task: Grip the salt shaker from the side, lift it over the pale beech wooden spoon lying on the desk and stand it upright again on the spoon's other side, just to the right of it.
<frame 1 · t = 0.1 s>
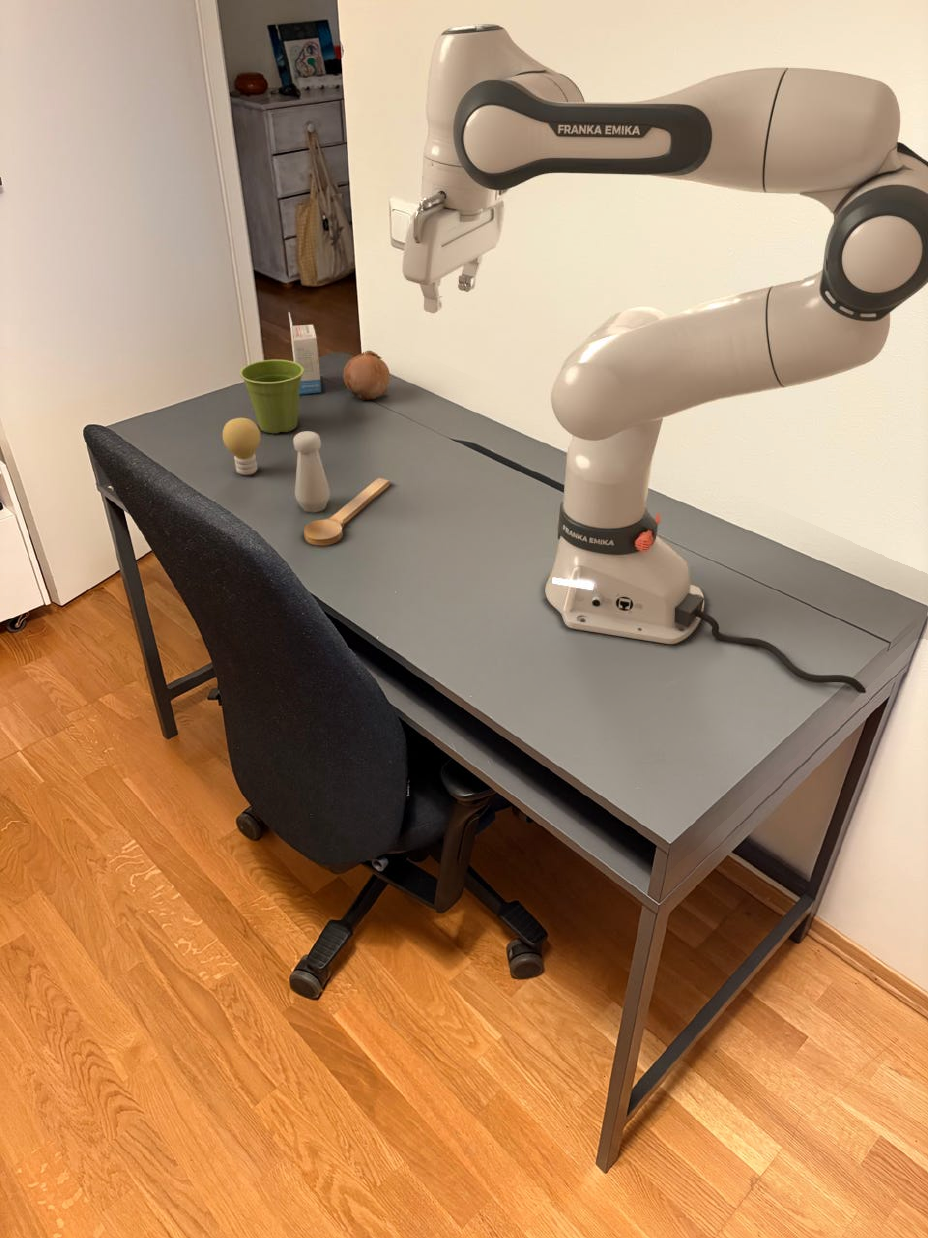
hand: (449, 299, 117), 39 cm above the table, tool pointing down, fingers open, 8 cm apart
light bulb: (247, 472, 162), on the table
salt shaker: (314, 507, 152), on the table
ink box: (308, 387, 193), on the table
plant pot: (279, 427, 177), on the table
wooden spoon: (350, 512, 150), on the table
onion: (368, 397, 189), on the table
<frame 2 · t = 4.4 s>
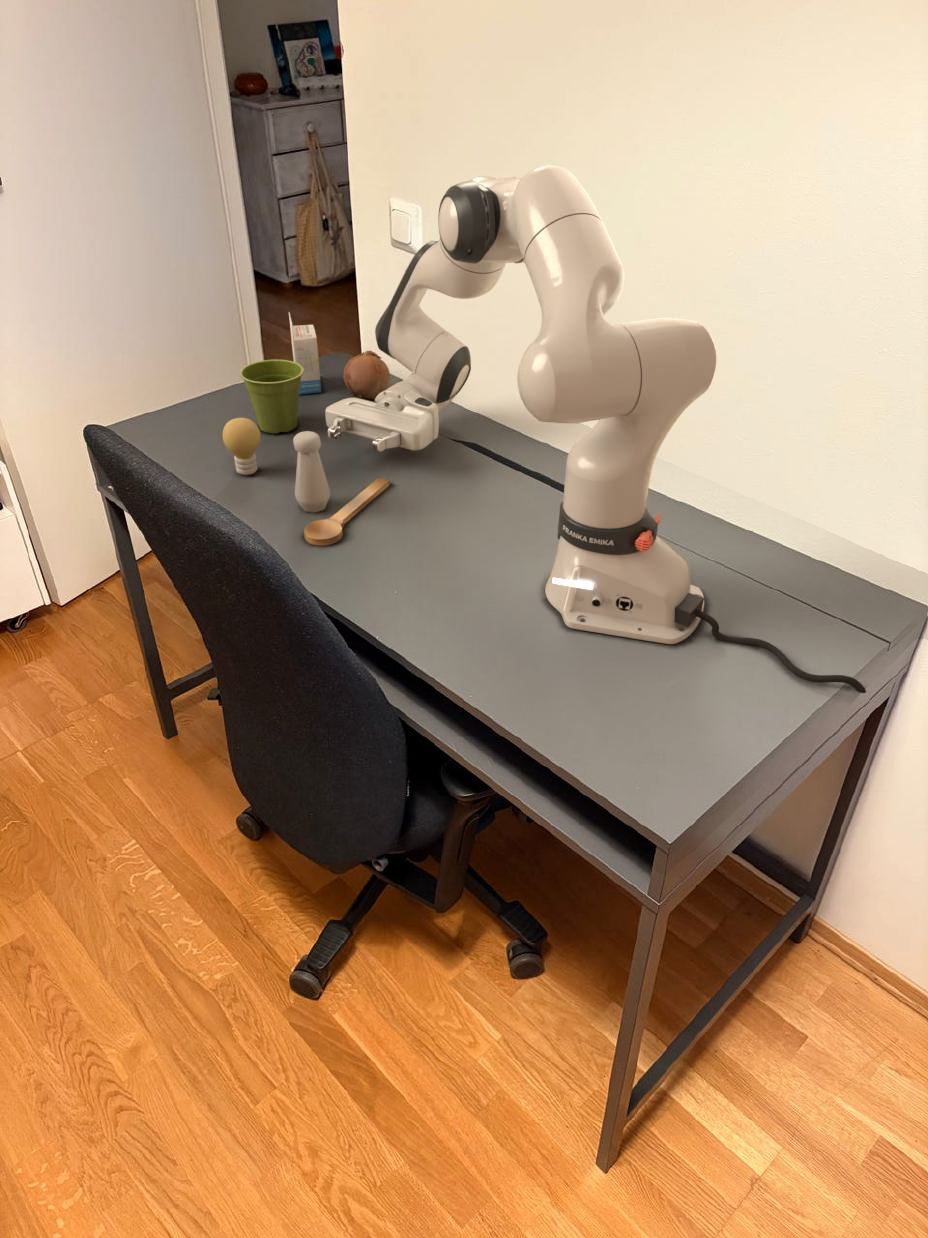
hand: (353, 440, 156), 7 cm above the table, tool horizontal, fingers open, 8 cm apart
nothing on the table moved.
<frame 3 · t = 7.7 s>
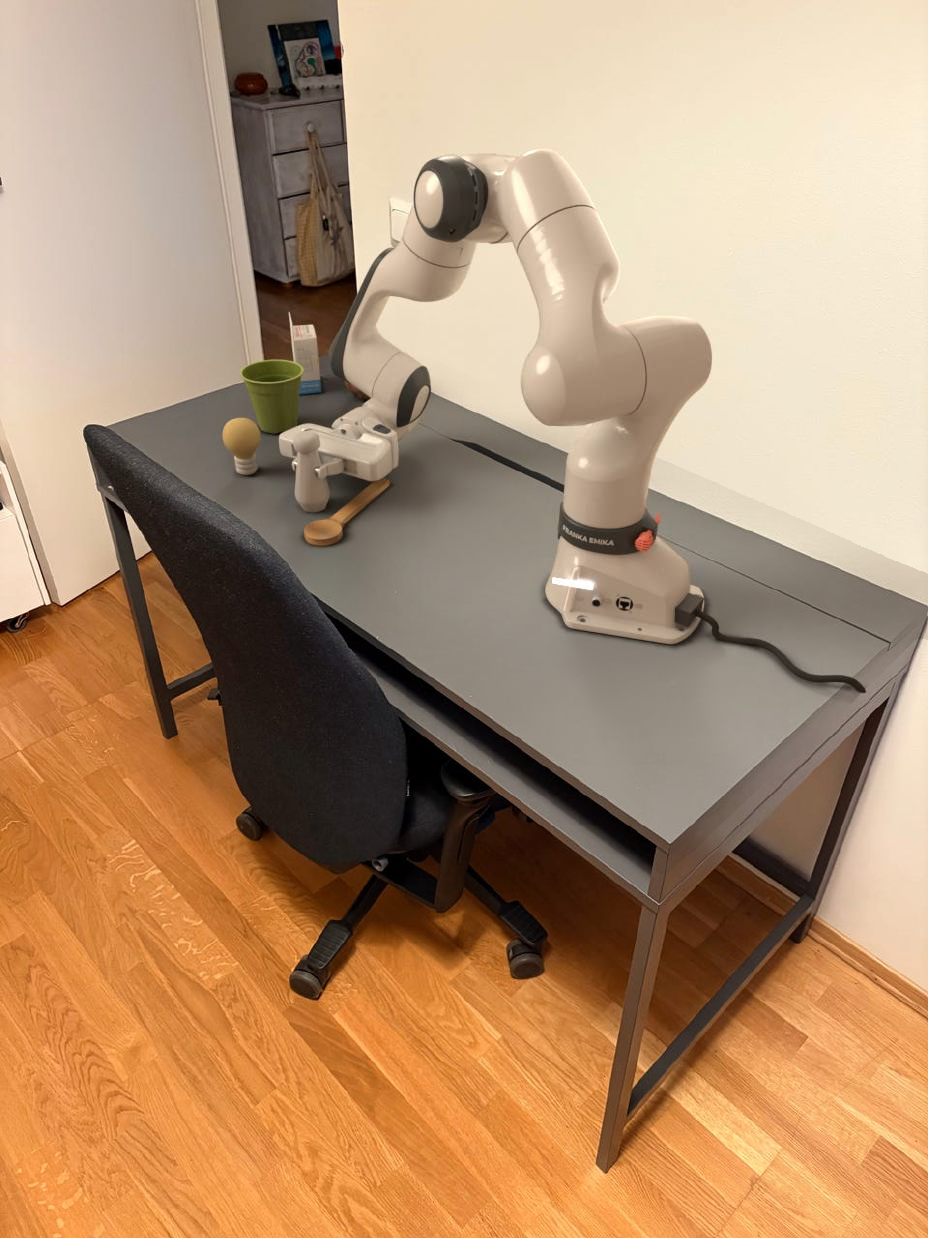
hand: (306, 470, 147), 7 cm above the table, tool horizontal, fingers closed on salt shaker, 3 cm apart
salt shaker: (314, 507, 152), on the table, touching gripper
everything else where it was.
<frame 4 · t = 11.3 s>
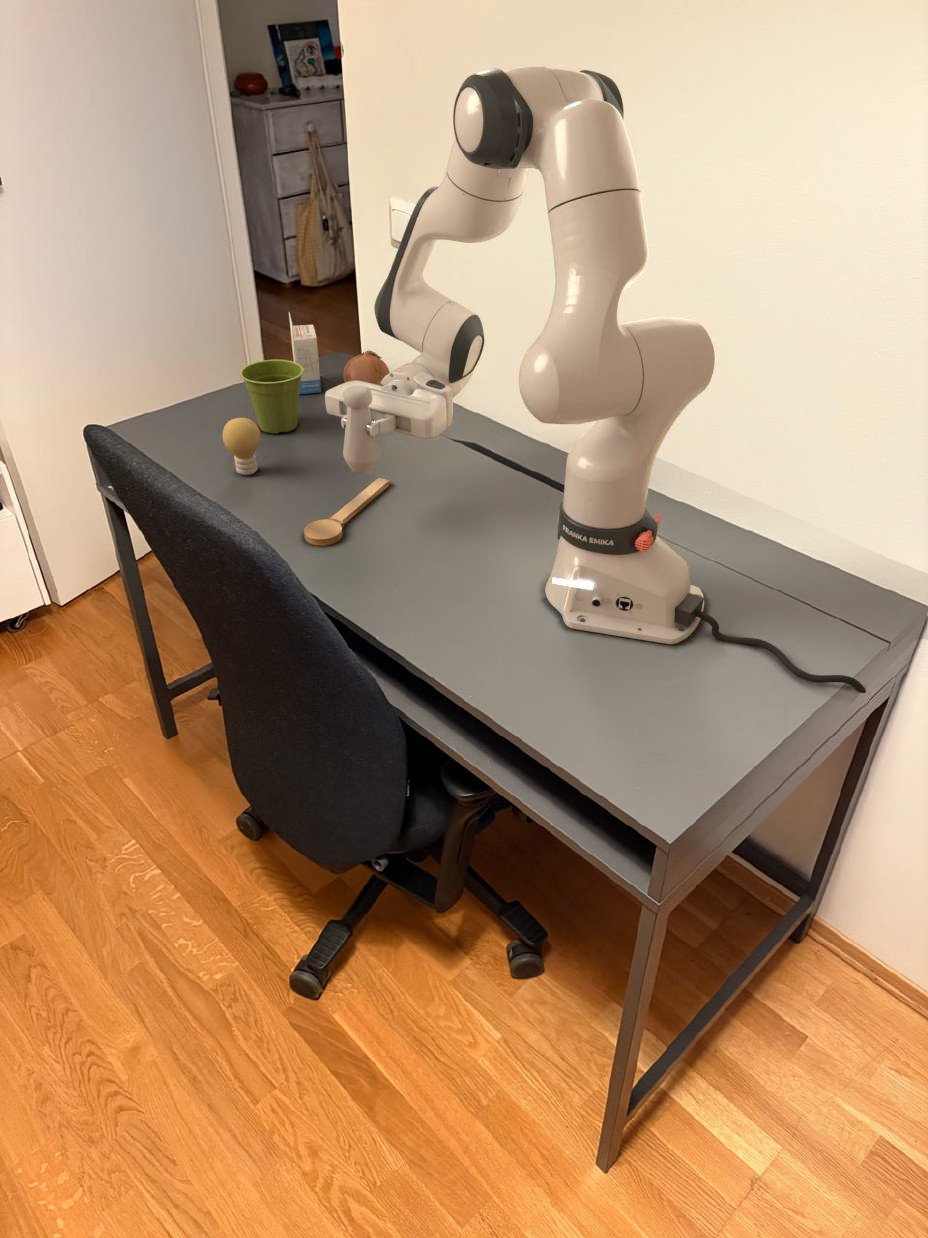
hand: (356, 427, 138), 17 cm above the table, tool horizontal, fingers closed on salt shaker, 3 cm apart
salt shaker: (363, 468, 143), point 9 cm above the table, touching gripper
everything else where it was.
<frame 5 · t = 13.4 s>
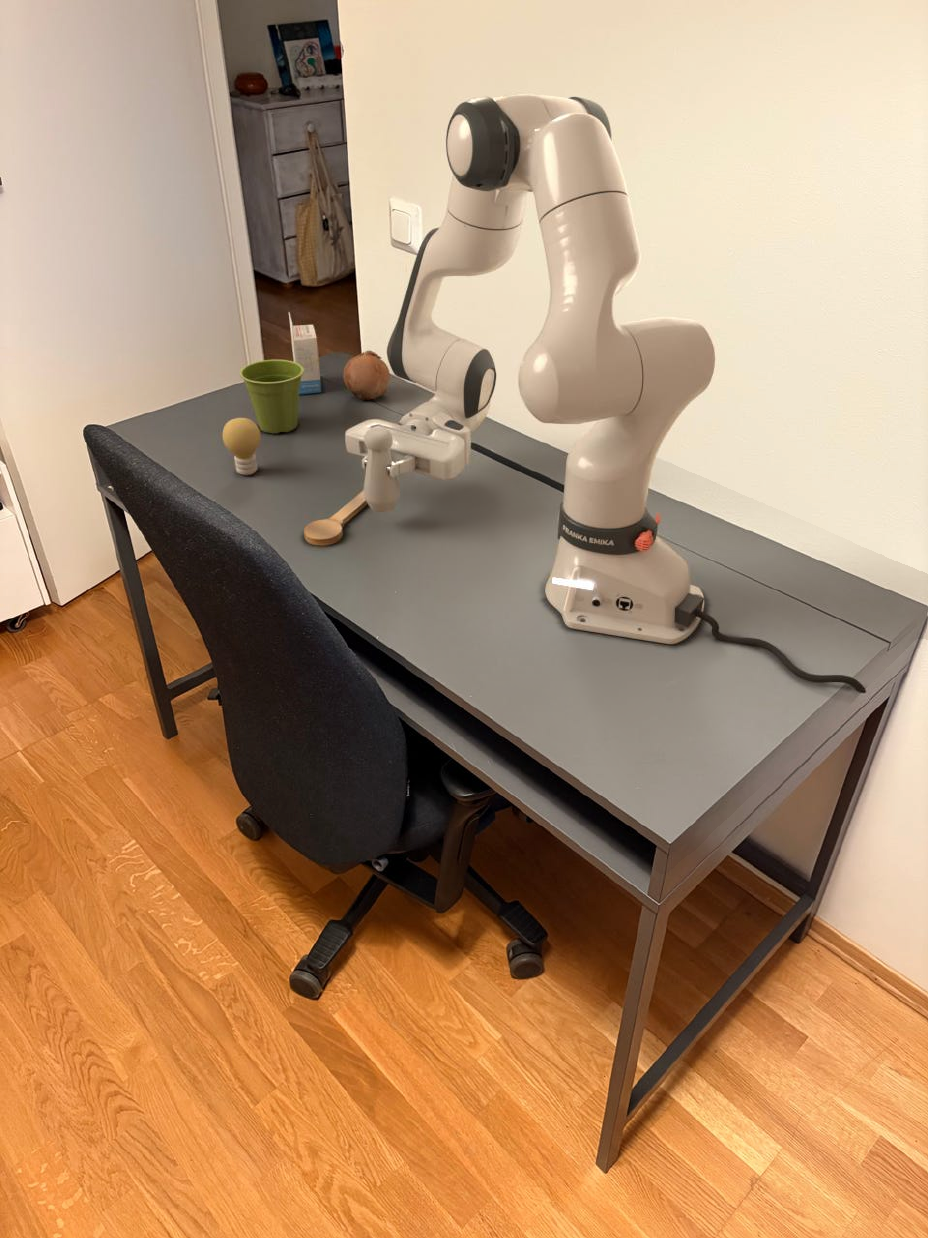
hand: (377, 468, 141), 10 cm above the table, tool horizontal, fingers closed on salt shaker, 3 cm apart
salt shaker: (382, 507, 146), point 3 cm above the table, touching gripper
everything else where it was.
when the fingers open (7 cm above the table, at t = 14.7 s): salt shaker stays where it is, on the table.
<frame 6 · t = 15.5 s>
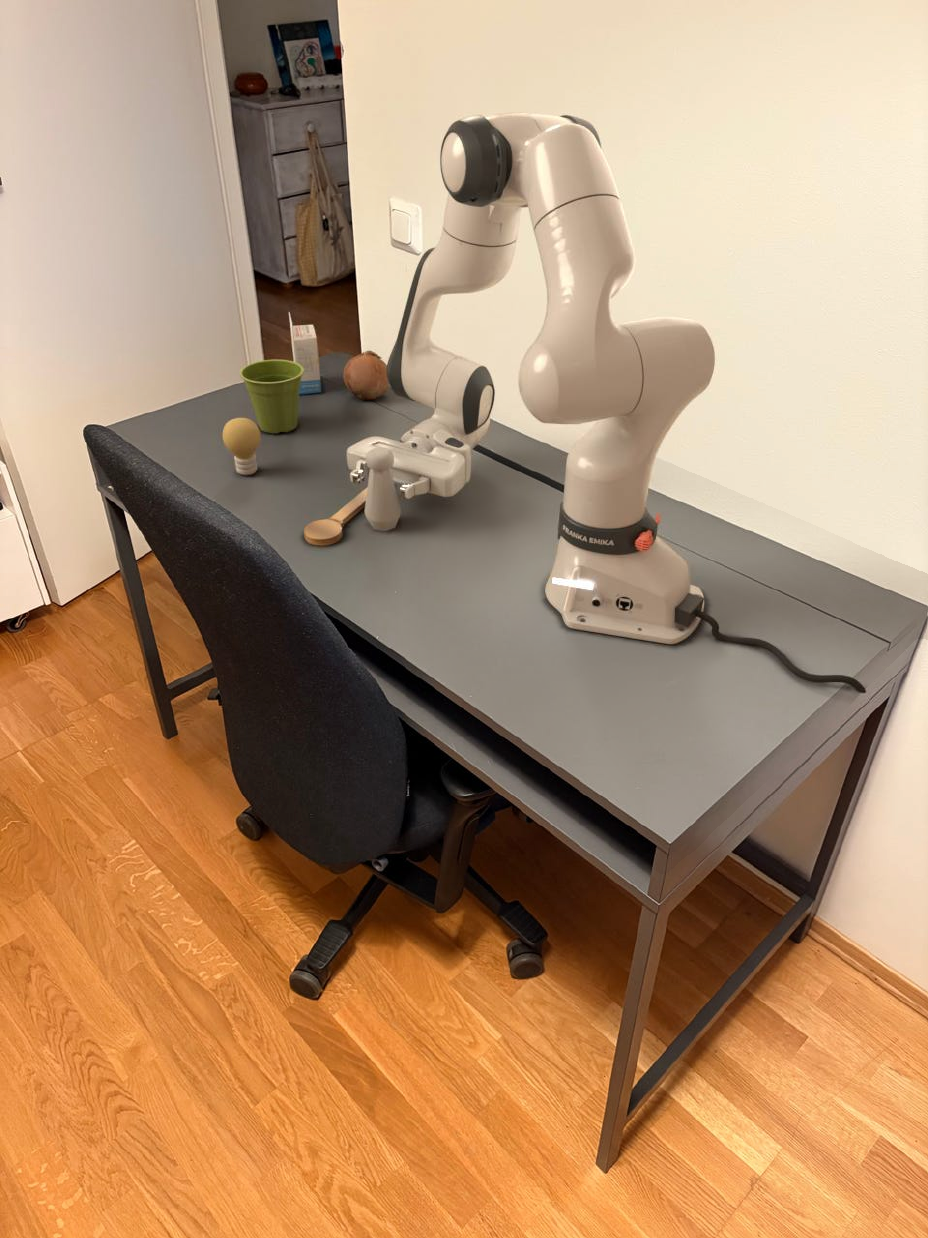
hand: (378, 486, 142), 8 cm above the table, tool horizontal, fingers open, 8 cm apart
salt shaker: (383, 525, 148), on the table
everything else where it was.
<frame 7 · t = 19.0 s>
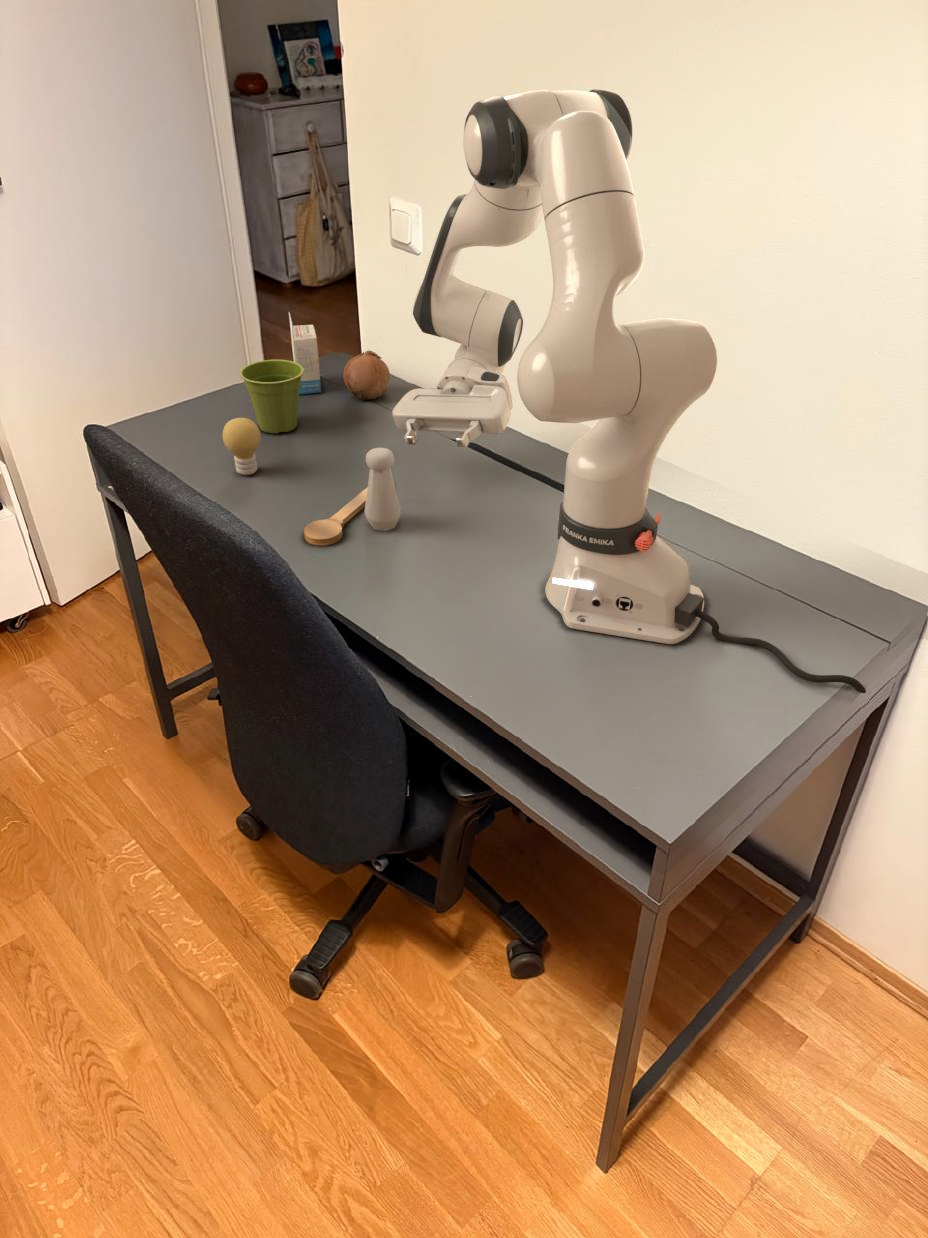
hand: (434, 442, 150), 10 cm above the table, tool tilted 75°, fingers open, 8 cm apart
nothing on the table moved.
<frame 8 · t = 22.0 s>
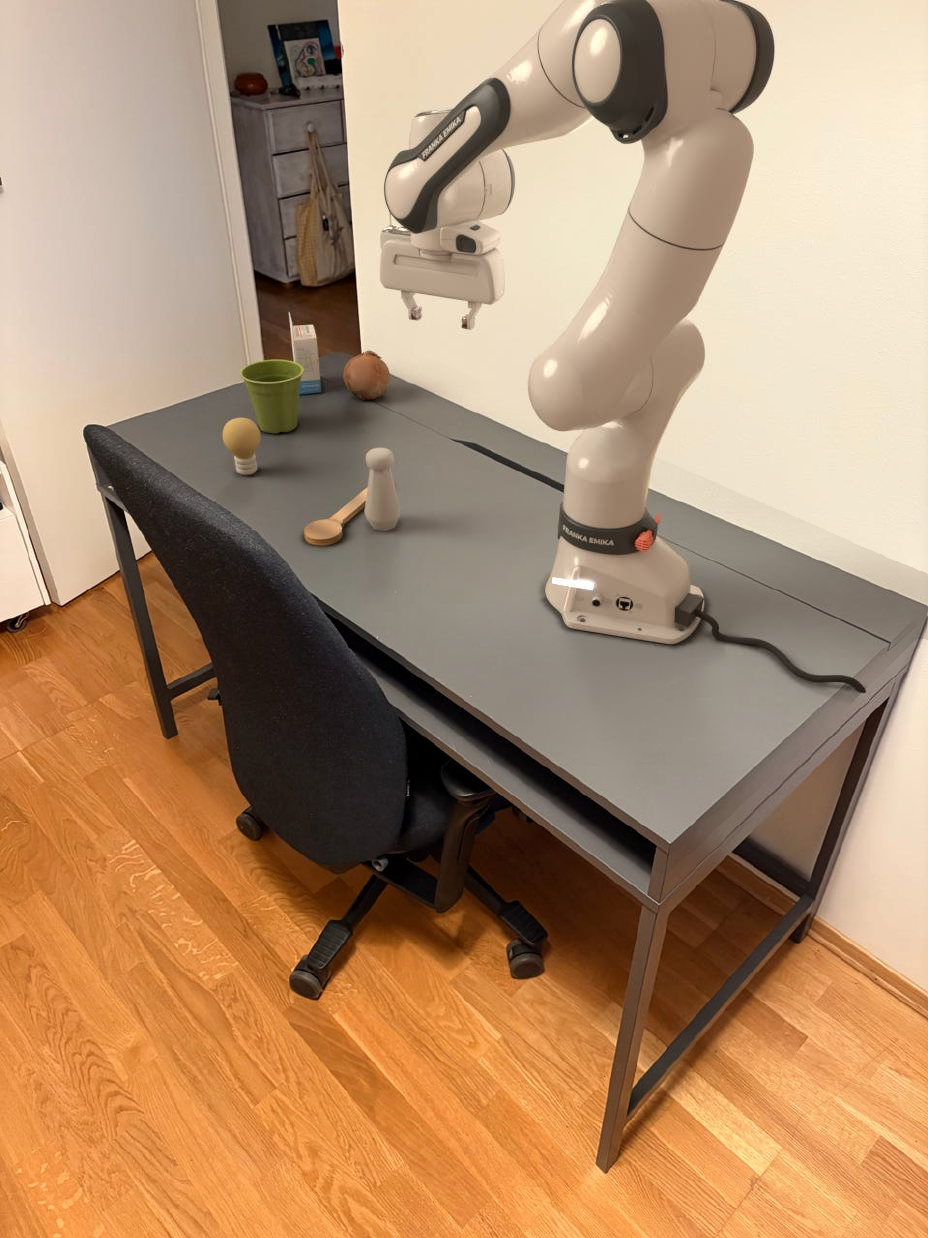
hand: (441, 323, 144), 27 cm above the table, tool pointing down, fingers open, 8 cm apart
nothing on the table moved.
at the end: salt shaker inside the target area on the table beside the wooden spoon (1.0 cm from its centre), on the table; salt shaker tilted 0°; the gripper is holding nothing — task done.
